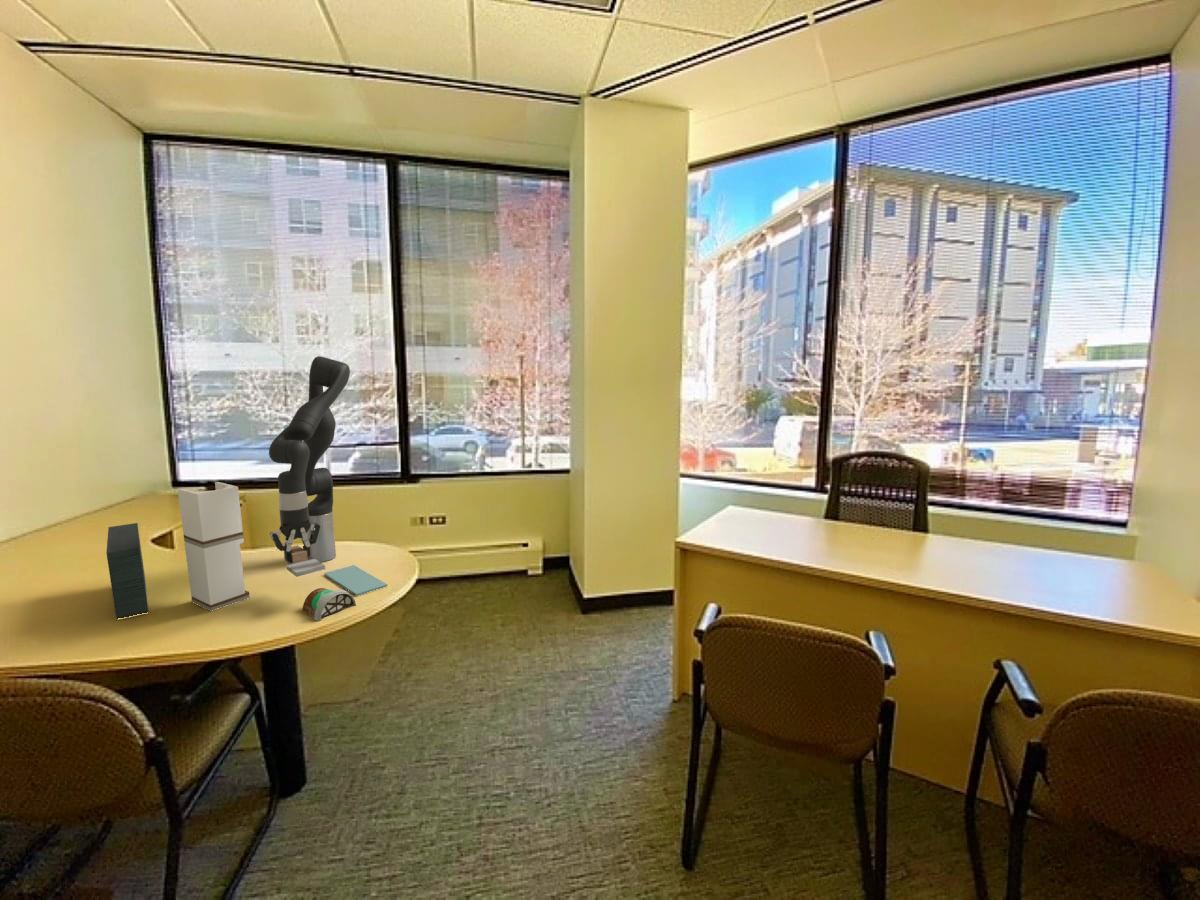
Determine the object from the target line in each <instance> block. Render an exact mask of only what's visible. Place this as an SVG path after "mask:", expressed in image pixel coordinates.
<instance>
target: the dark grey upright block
mask: <svg viewBox="0 0 1200 900" xmlns="http://www.w3.org/2000/svg"><path fill="white" fill-rule="evenodd" d="M140 539H141V538H140V532H139V524H138V522H134V523H129V524H128V523H126V524H121V525H120V524H119V525H114V526H108V530H107V542H106V550H105V551H106V559H107V567H108V571H109V572H108V573H109V579H110V586H111V591H112V592H111V593H112V600H113V604H114V605H113V607H114V612H115V618H116V619H118V618H124V617H129V616H133V615H137V614H142V613H147V612H148V611H149V603H148V602H147V601H148V593H147V592H148V591H147V583H146V581H147V580H146V576H145V567H144V562H143V561H144V558H143V553H142V546H141V540H140Z"/></svg>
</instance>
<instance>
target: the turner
mask: <svg viewBox="0 0 1200 900" xmlns="http://www.w3.org/2000/svg"><path fill="white" fill-rule="evenodd" d="M291 551H292V563H289V562H288V561H286V559H285V551H283V558H284V562H285V563H287V564H286V570H287V571H288V572H289V573H290V574H292V575H293V576H295V577H296V578H297V577H301V576H304V575H308V574H311V573H312V574H313V573H315V572H319V571H320V572H321V571H323V570H326V565H325V564H324V563H323V562H319V561H318V560H316V559H311V560H308V557H307V551H305V550H304V549H303V547H301V546H299V545H292V546H291Z"/></svg>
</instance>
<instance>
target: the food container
mask: <svg viewBox="0 0 1200 900" xmlns="http://www.w3.org/2000/svg"><path fill="white" fill-rule="evenodd" d="M351 606H357V604H356V600H355V598H354V596H353V594H351V593H350V592H349V591H347V590H345V589H337V590H333V589H328V588H325V587H319V588H316V589H314V590H313V591H311V592H310V593H308V595H307V596H306V598H305V599H304V602H303V604H302V611H303V612H304V613H306V614H307V615H310V616H311V617H313V618H314V620H315V621H322V619H323V618H326V617H328V616H330V615H333V614H335V613H338V612H339V613H340V611H342V610H345V609H346V608H349V607H351Z"/></svg>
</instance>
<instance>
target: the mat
mask: <svg viewBox="0 0 1200 900" xmlns="http://www.w3.org/2000/svg"><path fill="white" fill-rule="evenodd" d="M324 576H325V577H326V576H327V577H326V578H327V579H329V578H330V579H329V580H331V581H332V580H333V581H332V582H334V581H335V582H336V583H335V582H334V583H335V584H337V583H338V584H339V585H338V584H337V585H338V586H340V585H341V586H342V587H341V586H340V587H341V588H343V587H344V588H343V589H345V588H346V589H347V590H346V589H345V590H346V591H348V590H349V591H350V592H349V591H348V592H349V593H351V592H352V593H353V594H352V593H351V594H352V595H354V594H355V595H356V597H359V596H358V595H360V596H362V595H361V594H363V595H365V594H364V593H366V594H368V593H367V592H369V593H371V592H370V591H372V592H374V591H373V590H375V591H377V590H376V589H379V590H381V589H380V588H382V589H384V588H383V587H385V588H387V587H388V584H387V583H386V582H384V581H382V580H380V579H378V578H377V577H375V576H374V575H372V574H370V573H369V572H367V571H365V570H364V569H361V568H360V567H358V566H357V565H355V564H353V565H349V566H345V567H341V568H338V569H334V570H331V571H328V572H325V573H324ZM386 586H387V587H386ZM355 595H354V596H355Z"/></svg>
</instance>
